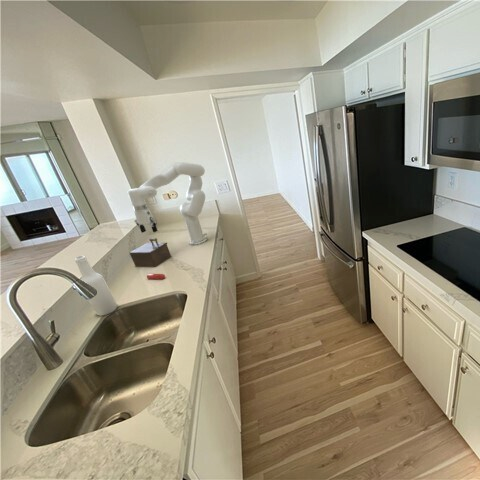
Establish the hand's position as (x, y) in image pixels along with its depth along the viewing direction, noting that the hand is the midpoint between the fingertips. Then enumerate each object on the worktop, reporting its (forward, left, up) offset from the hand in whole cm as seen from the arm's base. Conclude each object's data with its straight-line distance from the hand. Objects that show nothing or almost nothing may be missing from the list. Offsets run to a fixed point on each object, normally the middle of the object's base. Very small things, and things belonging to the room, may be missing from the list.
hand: (149, 231), depth 180 cm
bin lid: (+5, 0, -10) cm, 11 cm away
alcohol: (+57, +20, -20) cm, 63 cm away
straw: (+27, +22, -20) cm, 40 cm away
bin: (+6, 0, -20) cm, 21 cm away
